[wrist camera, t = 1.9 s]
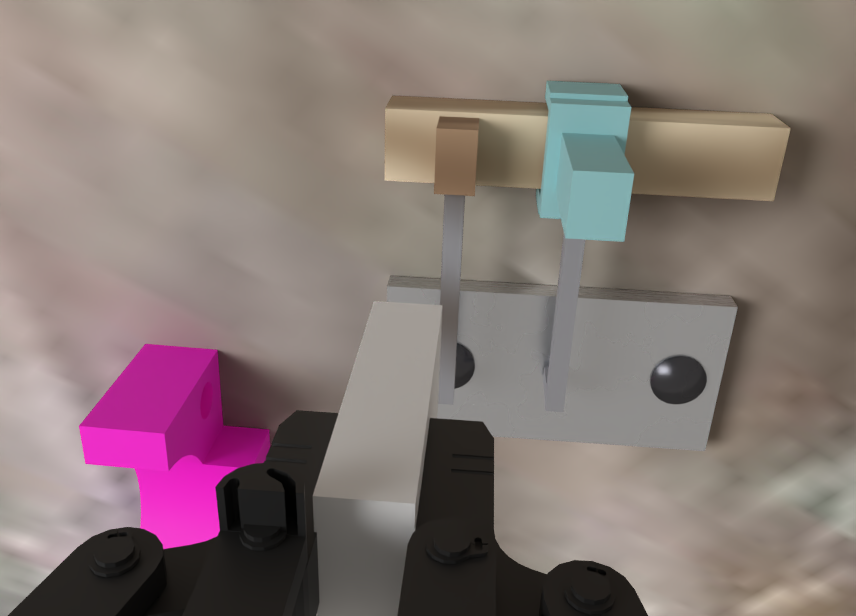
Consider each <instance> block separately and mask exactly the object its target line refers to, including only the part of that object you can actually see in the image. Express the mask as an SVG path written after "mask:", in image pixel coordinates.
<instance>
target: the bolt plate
mask: <svg viewBox="0 0 856 616" xmlns="http://www.w3.org/2000/svg"><path fill="white" fill-rule="evenodd" d="M557 289H558V286H553V285H537V284H520V283H503V282H486V281H469V280H460V295H459V314H458V332H457V350H456V377H455V389H454V402H453V405H448V404H438V413H437V418H439V419H454V420H468V421H483V422H484V424H485V425H486V427H487V429H488V430H489V432H490V433H491V435H492V436H495V437H510V438H524V439H539V440H553V441H568V442H582V443H596V444H611V445H625V446H640V447H654V448H668V449H683V450H697V451H705V449H706V445H707V440H708V436H709V431H710V427H711V423H712V418H713V414H714V409H715V405H716V401H717V396H718V392H719V387H720V383H721V379H722V374H723V370H724V365H725V361H726V357H727V352H728V348H729V343H730V339H731V335H732V330H733V326H734V321H735V317H736V313H737V308H738V307H737V305H736V304H735V302H734V301H733V299H732V297H731V296H722V295H705V294H688V293H671V292H654V291H637V290H621V289H604V288H587V287H579V293H578V301H577V309H576V317H575V324H574V332H573V340H572V348H571V356H570V364H569V371H568V379H567V387H566V395H565V403H564V411H563V412H552V411H546V410H545V397H544V387H543V376H544V367H549V359H550V350H551V341H552V332H553V324H554V315H555V306H556V297H557ZM440 294H441V279H436V278H419V277H402V276H390V278H389V282H388V285H387V302H397V303H413V304H429V305H440Z"/></svg>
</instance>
